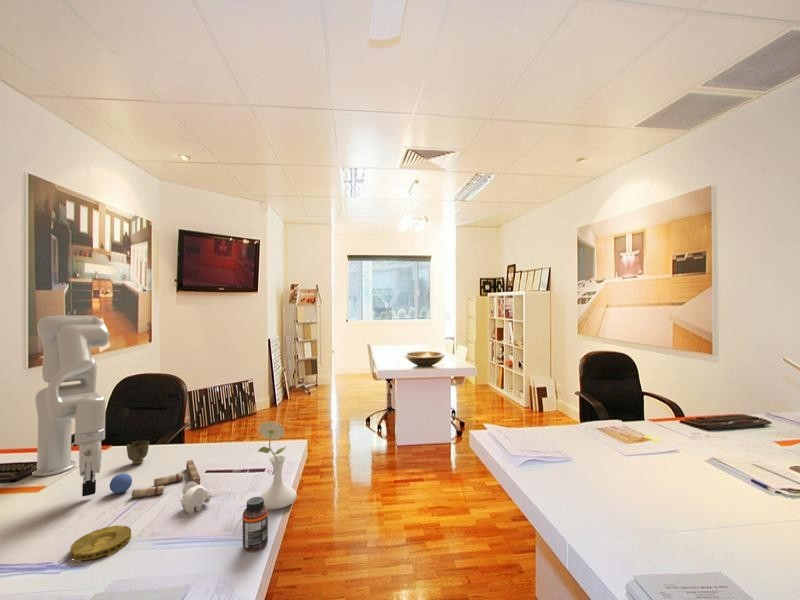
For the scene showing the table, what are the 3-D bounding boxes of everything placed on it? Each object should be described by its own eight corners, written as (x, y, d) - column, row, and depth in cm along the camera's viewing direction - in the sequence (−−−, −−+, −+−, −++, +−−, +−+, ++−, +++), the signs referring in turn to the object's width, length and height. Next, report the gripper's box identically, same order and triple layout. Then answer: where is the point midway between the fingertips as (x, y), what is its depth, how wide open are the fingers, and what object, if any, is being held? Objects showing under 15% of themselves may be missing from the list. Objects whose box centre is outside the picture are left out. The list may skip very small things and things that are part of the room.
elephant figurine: (217, 506, 114) (218, 482, 114) (182, 519, 107) (183, 493, 107) (208, 498, 119) (208, 475, 120) (174, 509, 112) (174, 485, 113)
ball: (136, 472, 128) (130, 491, 127) (116, 471, 126) (110, 490, 125) (132, 475, 123) (126, 495, 121) (110, 474, 121) (104, 495, 119)
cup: (137, 467, 144) (137, 446, 144) (121, 466, 145) (121, 445, 146) (153, 460, 151) (153, 440, 151) (138, 459, 153) (138, 439, 153)
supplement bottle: (246, 539, 97) (247, 494, 97) (270, 537, 97) (270, 493, 98) (238, 554, 91) (239, 506, 91) (264, 552, 91) (264, 505, 92)
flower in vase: (304, 497, 119) (304, 418, 120) (281, 516, 108) (281, 428, 109) (270, 492, 123) (270, 414, 124) (245, 509, 112) (245, 424, 113)
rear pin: (154, 478, 129) (182, 472, 134) (154, 486, 128) (182, 479, 133) (154, 479, 127) (183, 472, 132) (154, 487, 127) (183, 480, 131)
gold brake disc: (61, 569, 87) (61, 559, 87) (81, 540, 98) (81, 532, 98) (124, 555, 92) (124, 546, 92) (136, 529, 103) (136, 521, 103)
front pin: (134, 496, 121) (164, 492, 124) (131, 499, 119) (162, 495, 121) (134, 488, 121) (164, 484, 124) (131, 491, 119) (162, 487, 122)
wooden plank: (186, 468, 142) (186, 460, 142) (192, 467, 143) (192, 459, 144) (193, 488, 126) (193, 479, 126) (200, 486, 127) (200, 477, 127)
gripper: (103, 439, 116) (102, 500, 116) (106, 428, 129) (105, 482, 128) (71, 445, 112) (70, 507, 111) (77, 432, 124) (76, 488, 123)
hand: (89, 494), depth 120 cm, fingers closed
